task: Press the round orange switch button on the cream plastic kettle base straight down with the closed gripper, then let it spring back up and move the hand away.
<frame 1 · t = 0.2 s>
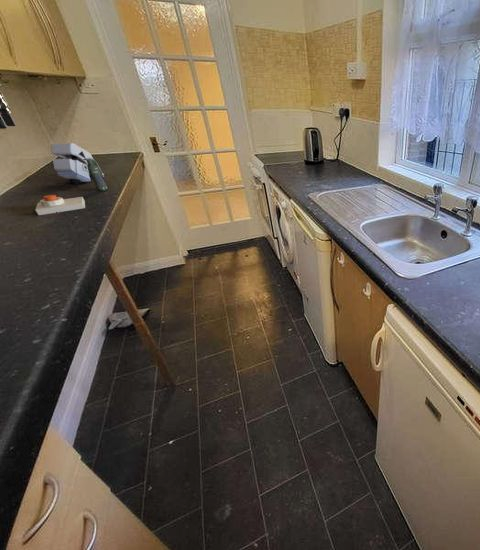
hand: (7, 127, 98), 31 cm above the worktop, tool pointing down, fingers open, 8 cm apart
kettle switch: (50, 198, 118), point 4 cm above the worktop, slide at 0.1 cm
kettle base: (63, 208, 122), on the worktop
robotic device: (83, 181, 158), on the worktop
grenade: (103, 190, 144), on the worktop
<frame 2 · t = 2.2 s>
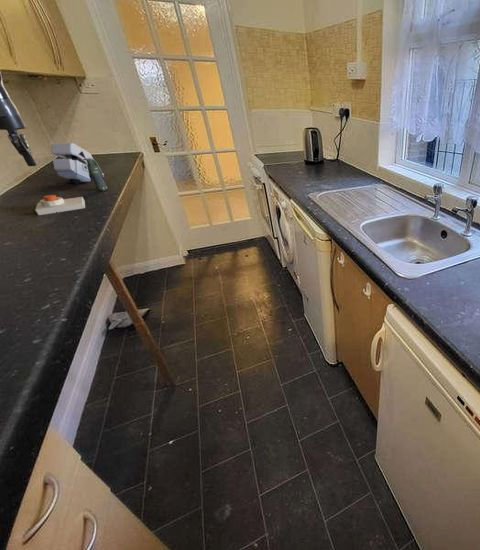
hand: (32, 165, 112), 17 cm above the worktop, tool pointing down, fingers closed
nothing on the worktop moved.
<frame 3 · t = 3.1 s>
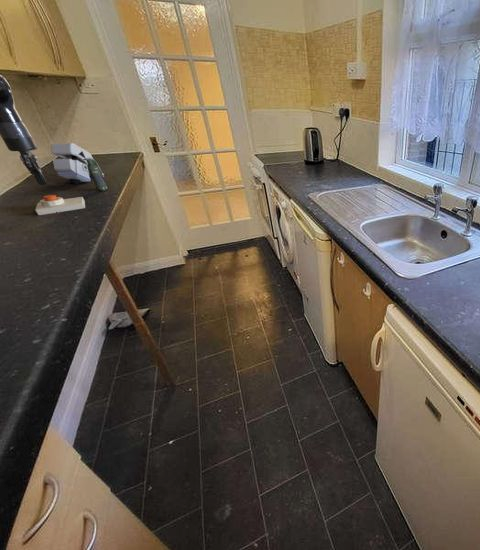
hand: (43, 184, 115), 10 cm above the worktop, tool pointing down, fingers closed
nothing on the worktop moved.
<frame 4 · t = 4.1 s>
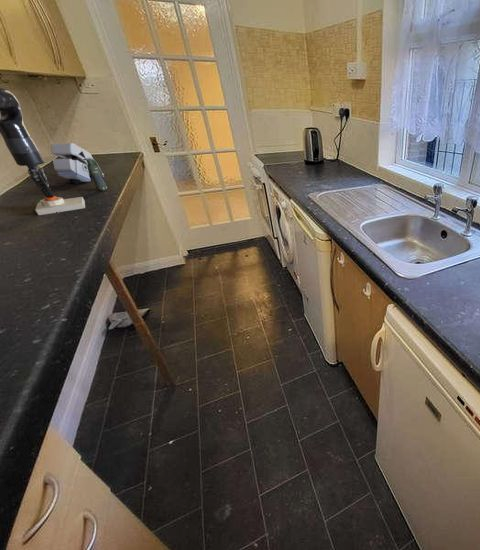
hand: (50, 197, 118), 5 cm above the worktop, tool pointing down, fingers closed
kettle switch: (51, 199, 118), point 4 cm above the worktop, slide at -0.3 cm, touching gripper
everything else where it was.
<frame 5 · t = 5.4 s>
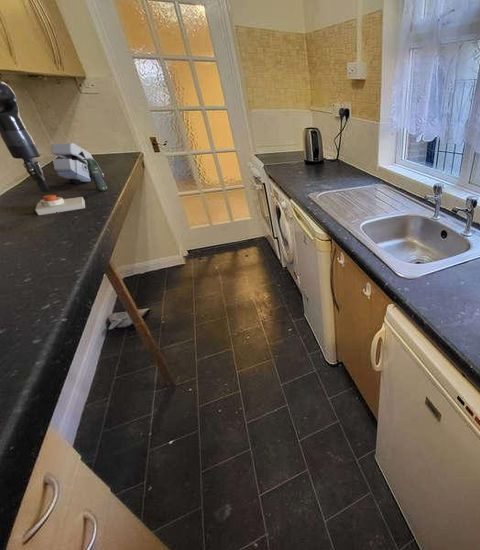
hand: (45, 190, 117), 7 cm above the worktop, tool pointing down, fingers closed
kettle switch: (50, 198, 118), point 4 cm above the worktop, slide at 0.1 cm
everything else where it was.
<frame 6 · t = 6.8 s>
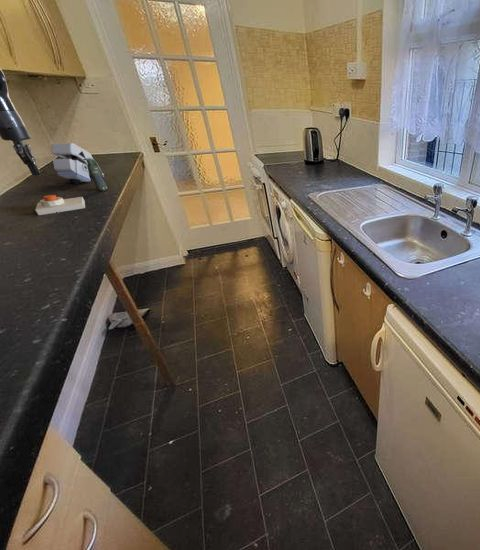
hand: (36, 174, 114), 13 cm above the worktop, tool pointing down, fingers closed
nothing on the worktop moved.
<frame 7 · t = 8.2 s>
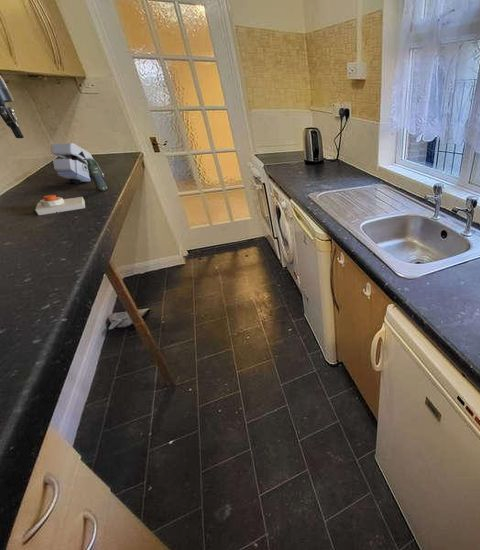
hand: (20, 138, 118), 25 cm above the worktop, tool pointing down, fingers closed
nothing on the worktop moved.
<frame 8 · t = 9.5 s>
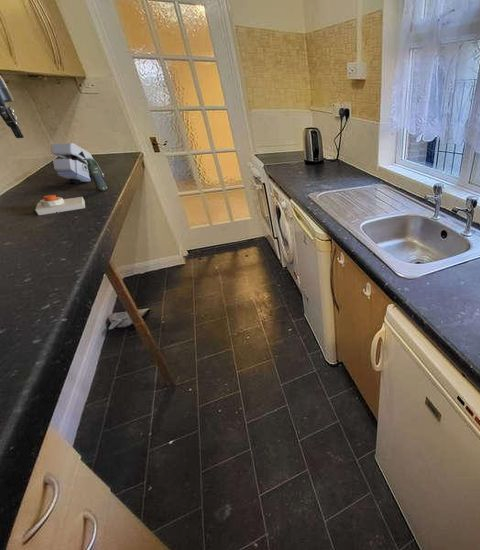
hand: (20, 137, 118), 25 cm above the worktop, tool pointing down, fingers closed
nothing on the worktop moved.
at the end: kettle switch pushed in 1.1 cm at the most during the clip, back to where it started at the end; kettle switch slide at 0.1 cm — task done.
